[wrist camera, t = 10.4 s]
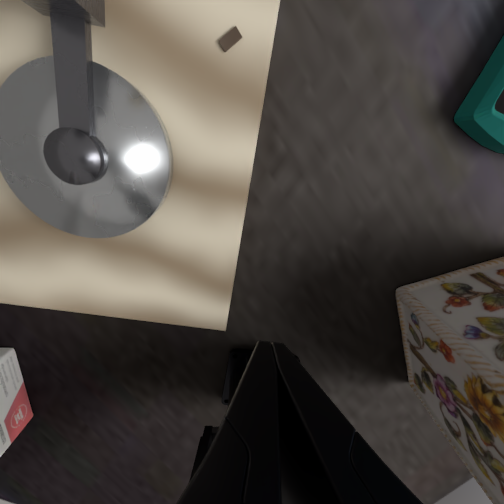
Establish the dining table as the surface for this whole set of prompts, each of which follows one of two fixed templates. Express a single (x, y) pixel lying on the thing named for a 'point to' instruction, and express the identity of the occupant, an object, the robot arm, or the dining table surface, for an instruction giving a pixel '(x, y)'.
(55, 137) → the dial
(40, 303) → the dial board
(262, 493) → the robot arm
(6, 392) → the ink cartridge box
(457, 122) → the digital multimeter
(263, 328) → the dining table surface
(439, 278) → the decorative jar
